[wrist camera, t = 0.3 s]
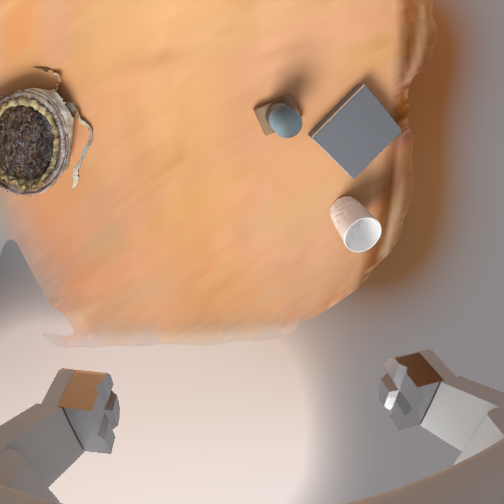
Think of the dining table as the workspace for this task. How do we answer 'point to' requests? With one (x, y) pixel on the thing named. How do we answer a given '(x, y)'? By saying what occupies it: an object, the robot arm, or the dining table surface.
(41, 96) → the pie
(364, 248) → the white cup
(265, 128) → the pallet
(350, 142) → the dock
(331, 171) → the dining table surface
